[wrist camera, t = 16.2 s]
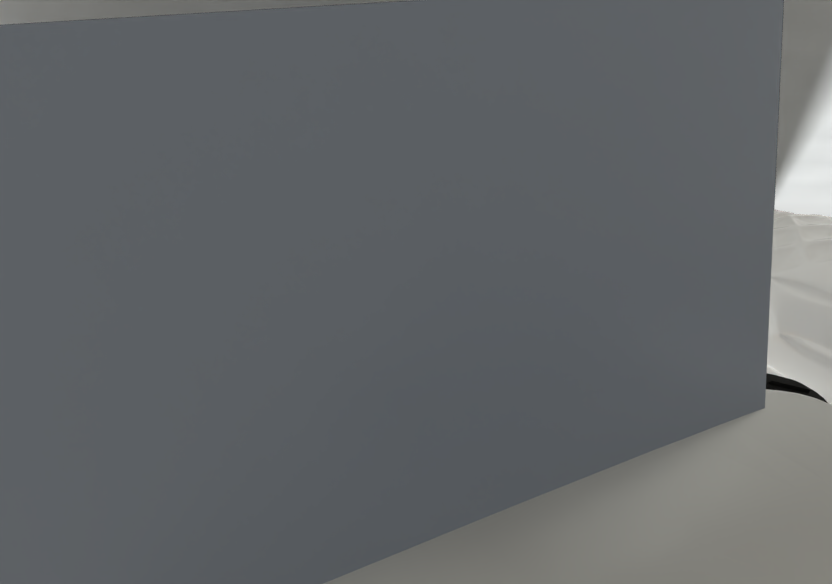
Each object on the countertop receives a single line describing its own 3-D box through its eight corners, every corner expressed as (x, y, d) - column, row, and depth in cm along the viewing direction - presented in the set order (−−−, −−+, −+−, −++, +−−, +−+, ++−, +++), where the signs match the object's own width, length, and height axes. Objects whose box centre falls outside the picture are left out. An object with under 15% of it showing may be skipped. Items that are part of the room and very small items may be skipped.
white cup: (612, 282, 17) (916, 457, 9) (743, 153, 15) (1263, 216, 7) (664, 344, 21) (902, 504, 13) (771, 247, 20) (1121, 357, 11)
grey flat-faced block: (455, 160, 12) (783, -22, 3) (502, 461, 14) (747, 788, 6) (215, 200, 10) (-347, 45, 2) (318, 529, 13) (297, 1104, 4)
